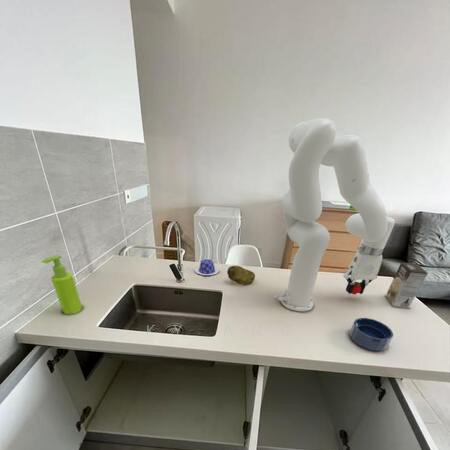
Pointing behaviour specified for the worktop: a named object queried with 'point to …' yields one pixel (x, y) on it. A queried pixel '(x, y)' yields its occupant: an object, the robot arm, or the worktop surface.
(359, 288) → the strawberry
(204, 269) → the pudding
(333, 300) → the worktop surface
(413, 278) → the coffee box
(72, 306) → the soap dispenser
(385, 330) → the dessert bowl
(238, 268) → the potato
